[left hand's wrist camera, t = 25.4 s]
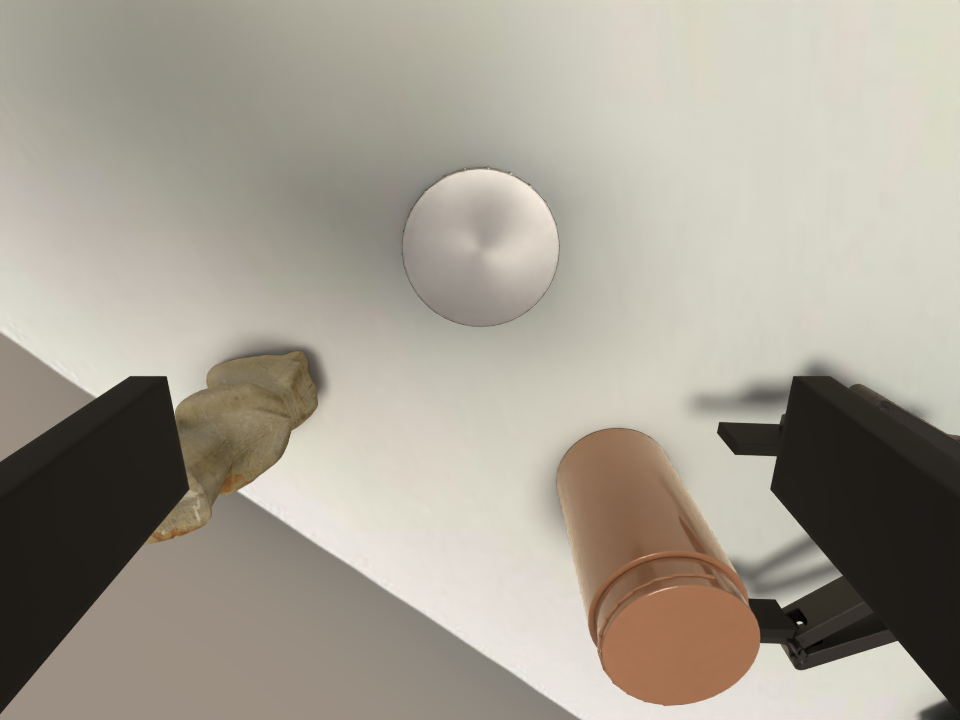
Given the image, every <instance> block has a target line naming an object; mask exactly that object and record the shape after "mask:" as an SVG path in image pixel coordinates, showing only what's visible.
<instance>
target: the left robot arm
mask: <svg viewBox="0 0 960 720" xmlns="http://www.w3.org/2000/svg"><path fill="white" fill-rule="evenodd" d="M189 490H190V488H189V483H188V479H187V474H186V469H185V464H184V459H183V454H182V449H181V444H180V439H179V434H178V430H177V425H176V420H175V415H174V410H173V405H172V400H171V395H170V390H169V385H168V381H167V376H130V377H128V378H127V379H125V380H124V381H122V382H121V383H119V384H118V385H116V386H115V387H113V388H111V389H110V390H108V391H107V392H105V393H104V394H102V395H101V396H99V397H98V398H96V399H95V400H93V401H92V402H90V403H89V404H87V405H86V406H84V407H83V408H81V409H80V410H78V411H77V412H75V413H74V414H72V415H71V416H69V417H68V418H66V419H65V420H63V421H62V422H60V423H58V424H57V425H55V426H54V427H52V428H51V429H49V430H48V431H46V432H45V433H43V434H42V435H40V436H39V437H37V438H36V439H34V440H33V441H31V442H30V443H28V444H27V445H25V446H24V447H22V448H21V449H19V450H18V451H16V452H15V453H13V454H12V455H10V456H8V457H7V458H5V459H4V460H3V461H1V462H0V714H1V712H2V711H3V710H4V709H5V708H6V707H7V705H8V704H9V703H10V702H11V701H12V699H13V698H14V697H15V696H16V695H17V693H18V692H19V691H20V690H21V689H22V688H23V686H24V685H25V684H26V683H27V682H28V680H29V679H30V678H31V677H32V676H33V674H34V673H35V672H36V671H37V670H38V669H39V667H40V666H41V665H42V664H43V663H44V661H45V660H46V659H47V658H48V657H49V656H50V654H51V653H52V652H53V651H54V650H55V648H56V647H57V646H58V645H59V644H60V643H61V641H62V640H63V639H64V638H65V637H66V635H67V634H68V633H69V632H70V631H71V629H72V628H73V627H74V626H75V625H76V624H77V622H78V621H79V620H80V619H81V618H82V616H83V615H84V614H85V613H86V612H87V611H88V609H89V608H90V607H91V606H92V605H93V603H94V602H95V601H96V600H97V599H98V597H99V596H100V595H101V594H102V593H103V592H104V590H105V589H106V588H107V587H108V586H109V584H110V583H111V582H112V581H113V580H114V579H115V577H116V576H117V575H118V574H119V573H120V571H121V570H122V569H123V568H124V567H125V565H126V564H127V563H128V562H129V561H130V560H131V558H132V557H133V556H134V555H135V554H136V552H137V551H138V550H139V549H140V548H141V547H142V545H143V544H144V543H145V542H146V541H147V539H148V538H149V537H150V536H151V535H152V533H153V532H154V531H155V530H156V529H157V528H158V526H159V525H160V524H161V523H162V522H163V520H164V519H165V518H166V517H167V516H168V514H169V513H170V512H171V511H172V510H173V509H174V507H175V506H176V505H177V504H178V503H179V501H180V500H181V499H182V498H183V497H184V496H185V494H186V493H187V492H188V491H189ZM770 490H771V491H772V492H773V493H774V494H775V496H776V497H777V498H778V499H779V500H780V501H781V503H782V504H783V505H784V506H785V507H786V509H787V510H788V511H789V512H790V513H791V514H792V516H793V517H794V518H795V519H796V520H797V522H798V523H799V524H800V525H801V526H802V528H803V529H804V530H805V531H806V532H807V533H808V535H809V536H810V537H811V538H812V539H813V541H814V542H815V543H816V544H817V545H818V547H819V548H820V549H821V550H822V551H823V552H824V554H825V555H826V556H827V557H828V558H829V560H830V561H831V562H832V563H833V564H834V565H835V567H836V568H837V569H838V570H839V571H840V573H841V574H842V575H843V576H844V577H845V579H846V580H847V581H848V582H849V583H850V584H851V586H852V587H853V588H854V589H855V590H856V592H857V593H858V594H859V595H860V596H861V597H862V599H863V600H864V601H865V602H866V603H867V605H868V606H869V607H870V608H871V609H872V611H873V612H874V613H875V614H876V615H877V616H878V618H879V619H880V620H881V621H882V622H883V624H884V625H885V626H886V627H887V628H888V629H889V631H890V632H891V633H892V634H893V635H894V637H895V638H896V639H897V640H898V641H899V643H900V644H901V645H902V646H903V647H904V648H905V650H906V651H907V652H908V653H909V654H910V656H911V657H912V658H913V659H914V660H915V661H916V663H917V664H918V665H919V666H920V667H921V669H922V670H923V671H924V672H925V673H926V675H927V676H928V677H929V678H930V679H931V680H932V682H933V683H934V684H935V685H936V686H937V688H938V689H939V690H940V691H941V692H942V693H943V695H944V696H945V697H946V698H947V699H948V701H949V702H950V703H951V704H952V705H953V707H954V708H955V709H956V710H957V711H958V712H959V714H960V462H959V461H958V460H956V459H955V458H953V457H952V456H950V455H948V454H947V453H945V452H944V451H942V450H941V449H939V448H938V447H936V446H935V445H933V444H932V443H930V442H929V441H927V440H926V439H924V438H923V437H921V436H920V435H918V434H917V433H915V432H914V431H912V430H911V429H909V428H908V427H906V426H905V425H903V424H902V423H900V422H899V421H897V420H895V419H894V418H892V417H891V416H889V415H888V414H886V413H885V412H883V411H882V410H880V409H879V408H877V407H876V406H874V405H873V404H871V403H870V402H868V401H867V400H865V399H864V398H862V397H861V396H859V395H858V394H856V393H855V392H853V391H852V390H850V389H849V388H847V387H845V386H844V385H842V384H841V383H839V382H838V381H836V380H835V379H833V378H832V377H830V376H793V381H792V385H791V390H790V395H789V400H788V405H787V410H786V415H785V420H784V425H783V430H782V434H781V439H780V444H779V449H778V454H777V459H776V464H775V469H774V474H773V479H772V483H771V488H770Z"/></svg>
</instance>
